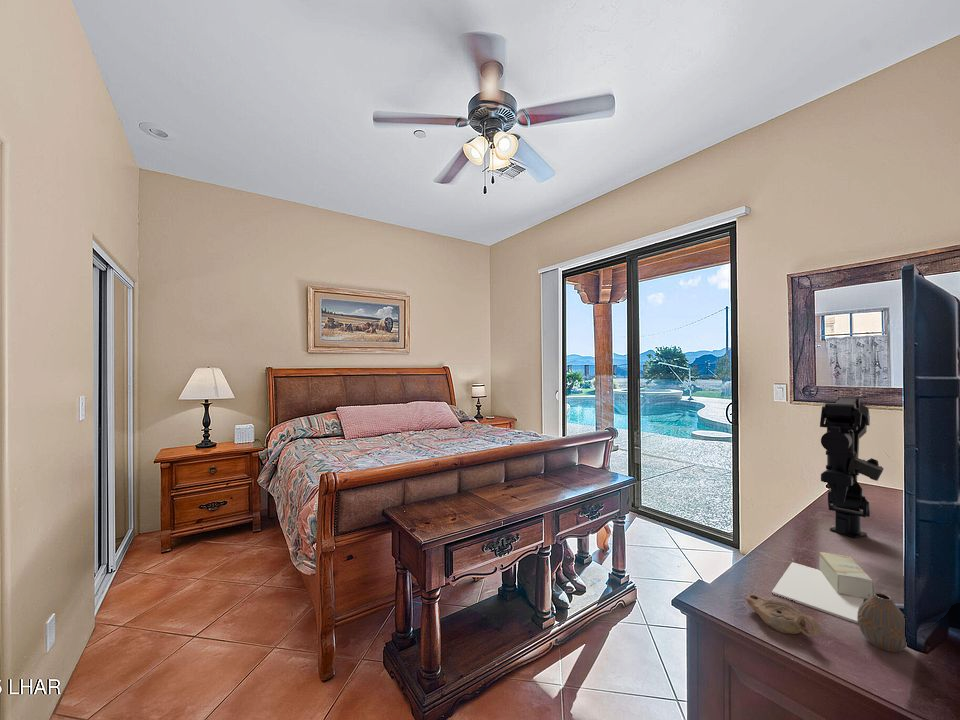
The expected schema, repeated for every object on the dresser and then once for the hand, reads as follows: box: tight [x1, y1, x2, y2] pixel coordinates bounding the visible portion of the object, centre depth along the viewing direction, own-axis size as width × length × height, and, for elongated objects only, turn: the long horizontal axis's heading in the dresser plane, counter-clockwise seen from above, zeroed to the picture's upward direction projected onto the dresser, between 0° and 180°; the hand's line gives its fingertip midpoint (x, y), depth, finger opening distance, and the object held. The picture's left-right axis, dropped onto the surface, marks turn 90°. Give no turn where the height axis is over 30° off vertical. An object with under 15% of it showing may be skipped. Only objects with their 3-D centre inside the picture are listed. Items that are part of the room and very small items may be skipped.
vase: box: [857, 592, 908, 653], centre depth 74 cm, size 7×7×9 cm
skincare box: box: [818, 551, 875, 600], centre depth 93 cm, size 6×4×12 cm
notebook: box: [771, 561, 865, 625], centre depth 91 cm, size 20×14×1 cm
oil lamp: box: [746, 594, 821, 638], centre depth 79 cm, size 13×8×5 cm, turn 14°
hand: (841, 503), depth 113 cm, fingers closed
